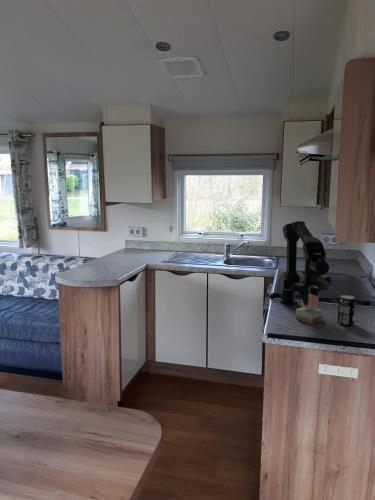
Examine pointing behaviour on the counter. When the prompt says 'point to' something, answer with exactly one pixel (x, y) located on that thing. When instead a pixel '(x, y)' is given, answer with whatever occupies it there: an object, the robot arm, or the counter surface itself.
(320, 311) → the sage slab
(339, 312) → the beverage can
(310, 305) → the tan cube
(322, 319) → the walnut slab
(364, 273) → the counter surface
